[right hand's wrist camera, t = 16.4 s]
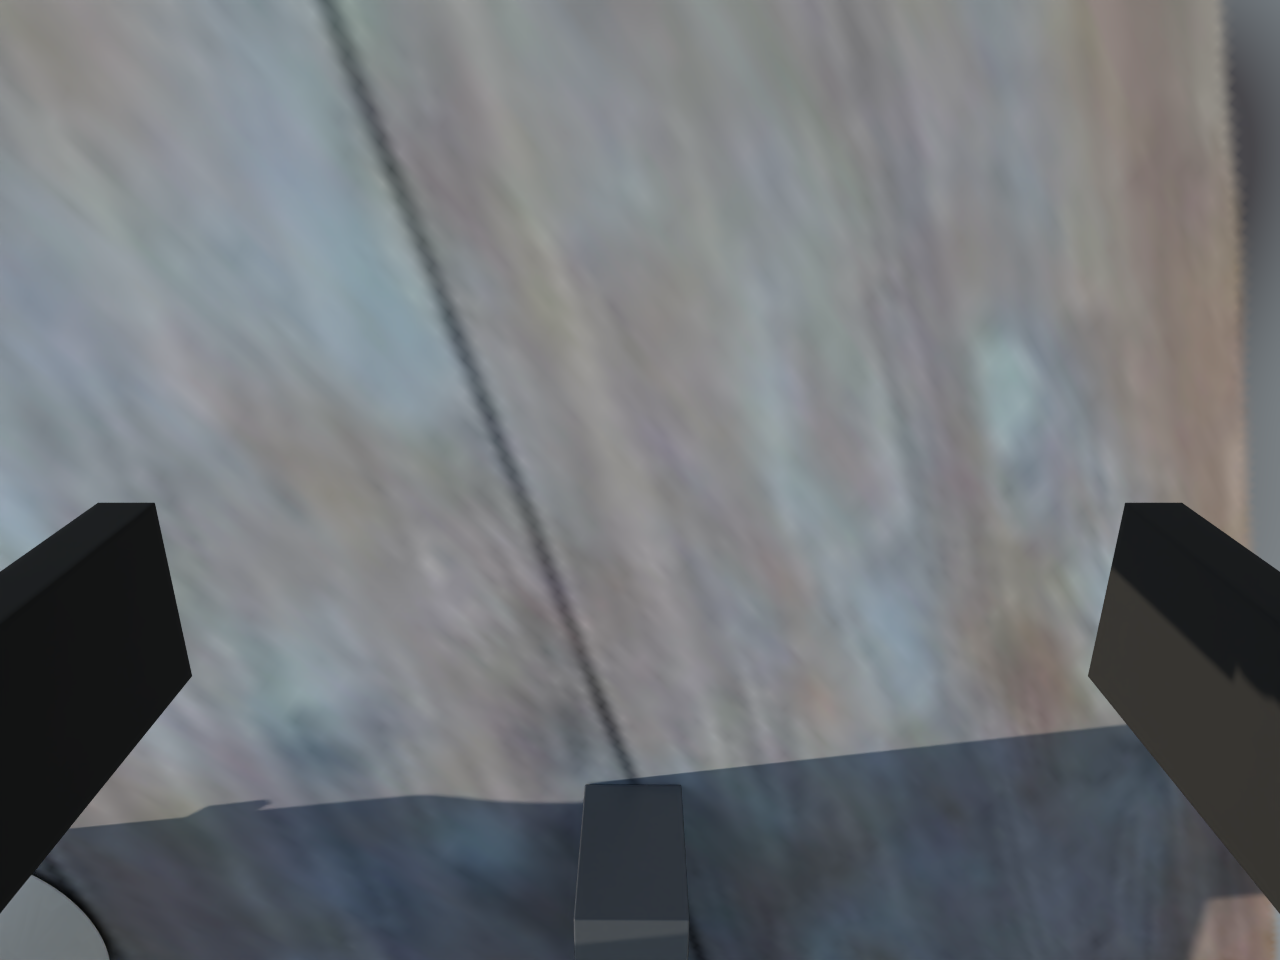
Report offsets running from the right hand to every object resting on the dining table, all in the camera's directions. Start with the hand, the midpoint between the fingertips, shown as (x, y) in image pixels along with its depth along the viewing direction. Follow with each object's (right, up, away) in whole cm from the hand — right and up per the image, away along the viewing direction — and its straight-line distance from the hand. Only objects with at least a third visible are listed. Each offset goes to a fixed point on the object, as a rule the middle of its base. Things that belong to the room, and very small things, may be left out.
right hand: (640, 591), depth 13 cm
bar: (0, -26, +40) cm, 48 cm away
